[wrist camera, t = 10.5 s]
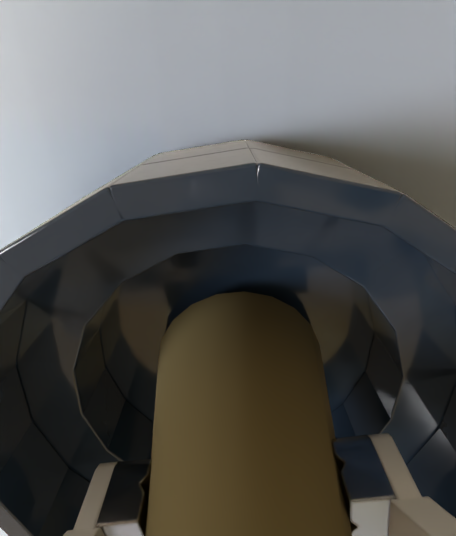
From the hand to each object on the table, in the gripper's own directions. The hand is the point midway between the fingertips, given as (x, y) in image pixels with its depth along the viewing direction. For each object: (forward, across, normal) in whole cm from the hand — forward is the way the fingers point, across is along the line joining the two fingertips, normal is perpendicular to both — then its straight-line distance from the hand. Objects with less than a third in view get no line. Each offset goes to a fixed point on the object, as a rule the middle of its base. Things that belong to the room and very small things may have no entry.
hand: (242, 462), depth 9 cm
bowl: (+6, 0, 0) cm, 6 cm away
